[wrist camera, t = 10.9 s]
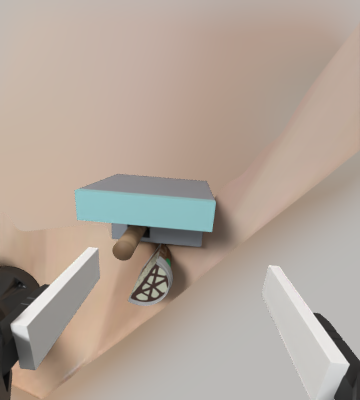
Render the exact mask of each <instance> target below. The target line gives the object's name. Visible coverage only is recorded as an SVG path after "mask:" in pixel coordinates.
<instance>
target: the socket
mask: <svg viewBox="0 0 360 400" xmlns="http://www.w3.org/2000/svg"><path fill="white" fill-rule="evenodd" d="M75 200H76V211H77V220H86V221H96V222H107V223H112V239H120V238H121V236H122V235H123V234H124V232H125V231H126V230H127V228H128V227H129V226H130V225H140V226H150V230H146V231H145V232H144V234H143V236H142V238H141V240H140V241H143V242H154V243H165V244H175V245H186V246H196V247H201V243H202V234H203V231H206V232H212V228H213V221H214V213H215V205H216V202H215V199H214V197H213V195H212V192H211V190H210V188H209V185H208V183H207V181H197V180H185V179H172V178H160V177H148V176H136V175H123V174H116V175H114V176H111V177H108V178H106V179H103V180H100V181H98V182H95V183H93V184H90V185H87V186H85V187H82V188H80V189H77V190H75Z"/></svg>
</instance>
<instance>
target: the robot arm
mask: <svg viewBox="0 0 360 400" xmlns="http://www.w3.org/2000/svg"><path fill="white" fill-rule="evenodd" d="M99 278H100V271H99V253H98V248H91V247H88V248H87V249H86V250H85V251H84V252H83V253H82V254H81V255H80V256H79V257H78V258H77V259H76V260H75V261H74V262H73V263H72V264H71V265H70V266H69V267H68V268H67V269H66V270H65V271H64V272H63V273H62V274H61V275H60V276H59V277H58V278H57V279H56V280H55V281H54V282H53V283H52V284H51V285H47V284H44V285H43V286H41V287H39V286H38V284H37V282H36V281H35V280H34V279H33V277H31V276H30V275H29V274H28V273H26V272H25V271H23V270H21V269H18V268H15V267H10V266H4V267H0V400H10V396H11V383H12V369H11V368H12V367H13V366H14V364H15V363H16V362H17V361H18V360H19V365H20V368H22V369H30V370H36V369H37V367H38V366H39V365H40V363H41V362H42V360H43V359H44V357H45V356H46V355H47V353H48V352H49V350H50V349H51V347H52V346H53V344H54V343H55V342H56V340H57V339H58V337H59V336H60V334H61V333H62V332H63V330H64V329H65V327H66V326H67V324H68V323H69V322H70V320H71V319H72V317H73V316H74V314H75V313H76V311H77V310H78V309H79V307H80V306H81V304H82V303H83V301H84V300H85V299H86V297H87V296H88V294H89V293H90V291H91V290H92V288H93V287H94V286H95V284H96V283H97V281H98V280H99ZM262 297H263V299H264V301H265V304H266V306H267V308H268V310H269V312H270V314H271V316H272V318H273V321H274V323H275V325H276V327H277V329H278V331H279V334H280V336H281V338H282V340H283V342H284V344H285V346H286V349H287V351H288V353H289V355H290V357H291V360H292V362H293V364H294V366H295V368H296V370H297V372H298V374H299V377H300V379H301V381H302V383H303V385H304V387H305V390H306V392H307V394H308V396H309V398H310V400H334V399H335V400H360V361H359V359H358V358H357V357H356V356H355V354H354V353H353V352H352V350H351V349H350V348H349V347H348V345H347V344H346V343H345V341H343V340H342V338H341V336H340V335H339V334H338V333H337V332H336V330H335V329H334V327H333V326H332V325H331V323H330V322H329V321H328V320H327V319H325V318H324V317H323V316H322V315H321V314H318V313H312V311H311V310H310V309H309V307H308V306H307V305H306V303H305V302H304V300H303V299H302V298H301V296H300V295H299V293H298V292H297V291H296V289H295V288H294V286H293V285H292V284H291V282H290V281H289V279H288V278H287V277H286V275H285V274H284V273H283V271H282V270H281V268H280V267H279V266H271V265H269V266H268V271H267V275H266V279H265V283H264V287H263V291H262Z"/></svg>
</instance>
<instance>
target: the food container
mask: <svg viewBox="0 0 360 400" xmlns="http://www.w3.org/2000/svg"><path fill="white" fill-rule="evenodd" d="M170 266H171V254H170V251H169V249H168V248H167V246H166V245H165V244H163V243H161V244H160V245H159V246H158V248H157V249H156V250H155V252H154V253H153V255H152V256H151V257H150V259H149V260H148V261H147V263H146V264H145V265H144V267H143V268H142V270H141V273H140V275H139V277H138V279H137V282H136V284H135V286H134V289H133V291H132V293H131V295H130V297H129V300H128V302H130V303H133V304H136V305H142V306H147V305H153V304H156V303H158V302H160V301H161V300H162V299H163V298H164V297H165V296H166V295H167V294H168V292H169V290H170V288H171V285H172V282H173V274H172V270H171V268H170Z"/></svg>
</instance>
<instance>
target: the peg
mask: <svg viewBox="0 0 360 400" xmlns="http://www.w3.org/2000/svg"><path fill="white" fill-rule="evenodd" d="M147 227H148V226H140V225H130V226H129V227H128V228H127V230H126V231H125V232H124V234H123V235H122V236H121V238H120V239H119V240H118V241H117V243H116V244H115V245H114V247H113V254H114V256H115V257H116V258H117V259H119V260H128V259H130V258H131V256H132V255H133V253H134V251H135V249H136V247H137V245H138V243H139V242H140V240H141V238H142V236H143V234H144V232H145V231H146V229H147Z"/></svg>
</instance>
